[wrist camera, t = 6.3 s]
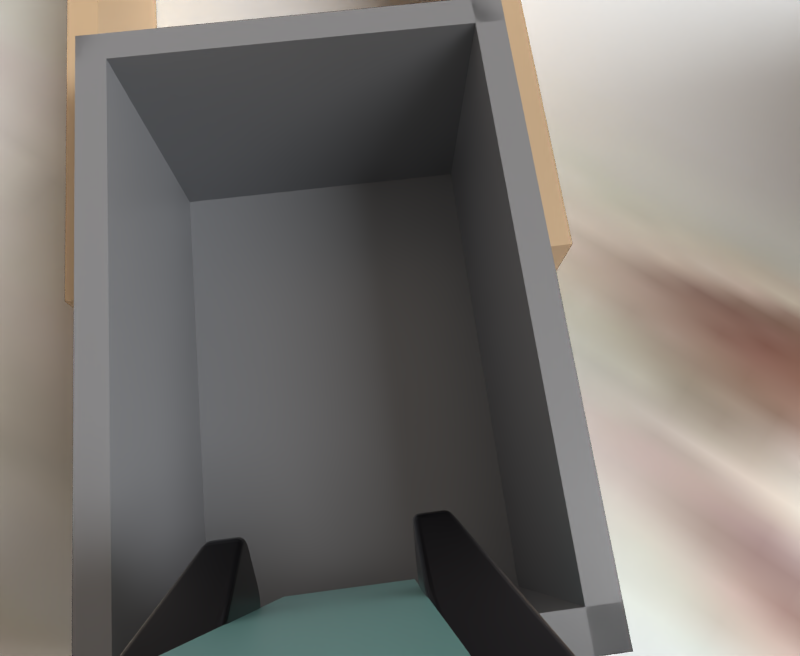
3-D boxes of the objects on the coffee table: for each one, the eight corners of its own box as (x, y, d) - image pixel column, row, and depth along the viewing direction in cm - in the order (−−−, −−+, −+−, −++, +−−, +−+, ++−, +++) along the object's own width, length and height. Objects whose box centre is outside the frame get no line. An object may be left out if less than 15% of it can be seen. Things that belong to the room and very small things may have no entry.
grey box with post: (549, 644, 14) (1409, 1177, 2) (193, 694, 14) (-1063, 1636, 2) (466, 163, 18) (638, -702, 5) (173, 195, 17) (-349, -651, 5)
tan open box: (530, 312, 17) (571, 244, 13) (141, 358, 16) (64, 301, 12) (460, -62, 20) (476, -206, 16) (132, -32, 19) (69, -173, 16)
